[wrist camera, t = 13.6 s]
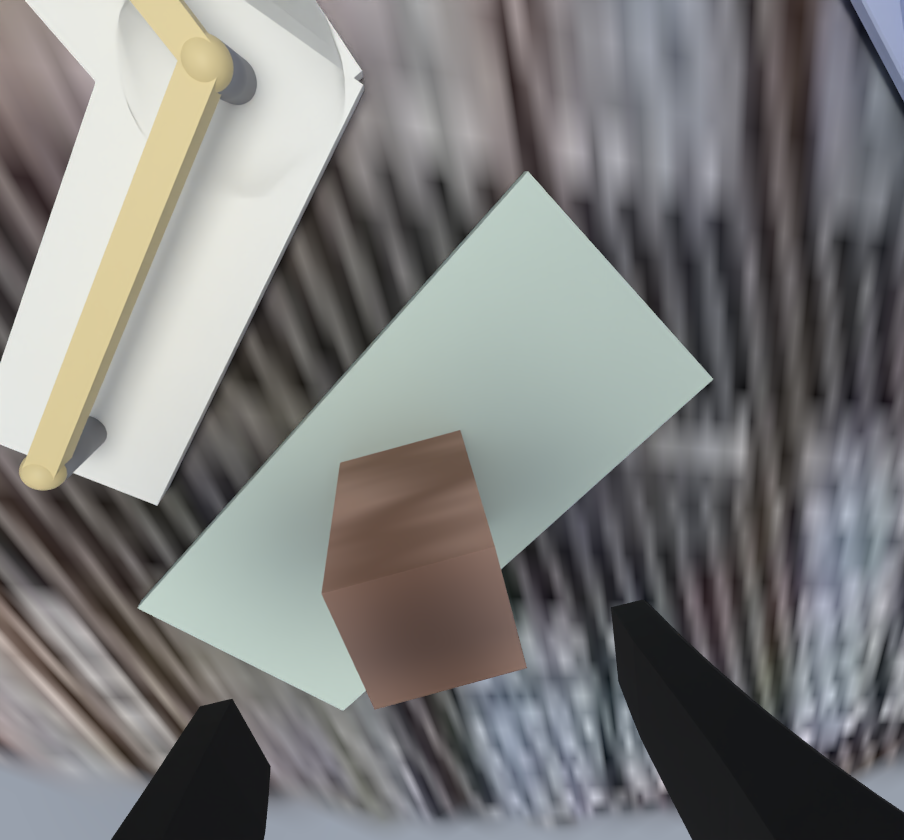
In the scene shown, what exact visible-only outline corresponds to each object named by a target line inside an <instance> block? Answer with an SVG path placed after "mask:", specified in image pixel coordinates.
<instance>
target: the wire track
mask: <svg viewBox="0 0 904 840" xmlns="http://www.w3.org/2000/svg"><path fill="white" fill-rule="evenodd" d="M25 1H26V2H27V3H28V5H29V6H30V7H31V8H32V9H33V10H34V11H35V13H36V14H37V15H38V16H39V17H40V18H41V19H42V21H43V22H44V23H45V24H46V25H47V26H48V28H49V29H50V30H51V31H52V32H53V33H54V34H55V36H56V37H57V38H58V39H59V40H60V41H61V42H62V44H63V45H64V46H65V47H66V48H67V49H68V51H69V52H70V53H71V54H72V55H73V56H74V57H75V59H76V60H77V61H78V62H79V63H80V64H81V65H82V67H83V68H84V69H85V70H86V71H87V72H88V74H89V75H90V76H91V77H92V78H93V79H94V80H95V82H96V83H95V86H94V89H93V92H92V95H91V98H90V101H89V104H88V107H87V110H86V113H85V116H84V118H83V121H82V124H81V127H80V130H79V133H78V136H77V139H76V142H75V145H74V148H73V151H72V154H71V157H70V160H69V163H68V166H67V169H66V171H65V174H64V177H63V180H62V183H61V186H60V189H59V192H58V195H57V198H56V201H55V204H54V207H53V210H52V213H51V216H50V219H49V222H48V224H47V227H46V230H45V233H44V236H43V239H42V242H41V245H40V248H39V251H38V254H37V257H36V260H35V263H34V266H33V269H32V272H31V275H30V277H29V280H28V283H27V286H26V289H25V292H24V295H23V298H22V301H21V304H20V307H19V310H18V313H17V316H16V319H15V322H14V325H13V328H12V330H11V333H10V336H9V339H8V342H7V345H6V348H5V351H4V354H3V357H2V360H1V363H0V445H3V446H6V447H8V448H11V449H13V450H16V451H18V452H21V453H24V454H26V455H27V457H26V458H25V459H24V460H23V461H22V463H21V465H20V468H19V474H20V477H21V479H22V481H23V482H24V483H25V484H26V485H27V486H29V487H31V488H33V489H36V490H50V489H53V488H56V487H58V486H59V485H61V484H62V483H63V482H64V481H65V480H66V479H67V478H68V477H69V476H70V475H71V474H72V473H75V474H78V475H80V476H83V477H85V478H88V479H90V480H93V481H95V482H98V483H101V484H103V485H106V486H108V487H111V488H113V489H116V490H119V491H121V492H124V493H126V494H129V495H131V496H134V497H137V498H139V499H142V500H144V501H147V502H149V503H152V504H155V505H158V503H159V502H160V500H161V499H162V497H163V496H164V494H165V493H166V491H167V490H168V488H169V486H170V484H171V482H172V480H173V478H174V476H175V474H176V472H177V470H178V468H179V466H180V464H181V462H182V460H183V458H184V456H185V454H186V452H187V450H188V448H189V446H190V444H191V442H192V440H193V438H194V436H195V434H196V432H197V429H198V427H199V425H200V423H201V421H202V419H203V417H204V415H205V413H206V411H207V409H208V407H209V405H210V403H211V401H212V399H213V397H214V395H215V393H216V391H217V389H218V387H219V385H220V383H221V381H222V379H223V377H224V375H225V373H226V370H227V368H228V366H229V364H230V362H231V360H232V358H233V356H234V354H235V352H236V350H237V348H238V346H239V344H240V342H241V340H242V338H243V336H244V334H245V332H246V330H247V328H248V326H249V324H250V322H251V320H252V318H253V316H254V314H255V311H256V309H257V307H258V305H259V303H260V301H261V299H262V297H263V295H264V293H265V291H266V289H267V287H268V285H269V283H270V281H271V279H272V277H273V275H274V273H275V271H276V269H277V267H278V265H279V263H280V261H281V259H282V257H283V255H284V252H285V250H286V248H287V246H288V244H289V242H290V240H291V238H292V236H293V234H294V232H295V230H296V228H297V226H298V224H299V222H300V220H301V218H302V216H303V214H304V212H305V210H306V208H307V206H308V204H309V202H310V200H311V198H312V195H313V193H314V191H315V189H316V187H317V185H318V183H319V181H320V179H321V177H322V175H323V173H324V171H325V169H326V167H327V165H328V163H329V161H330V159H331V157H332V155H333V153H334V151H335V149H336V147H337V145H338V143H339V141H340V139H341V136H342V134H343V132H344V130H345V128H346V126H347V124H348V122H349V120H350V118H351V116H352V114H353V112H354V110H355V108H356V106H357V104H358V102H359V100H360V98H361V96H362V94H363V92H364V86H363V84H362V83H360V82H359V80H361V79H362V78H363V73H362V70H361V69H360V67H359V66H358V64H357V63H356V61H355V60H354V58H353V57H352V55H351V53H350V52H349V50H348V49H347V47H346V46H345V44H344V43H343V41H342V40H341V38H340V37H339V35H338V34H337V32H336V31H335V29H334V28H333V26H332V25H331V23H330V22H329V20H328V19H327V17H326V16H325V14H324V13H323V11H322V10H321V8H320V7H319V5H318V4H317V2H316V1H315V0H25Z"/></svg>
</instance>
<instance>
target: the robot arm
mask: <svg viewBox="0 0 904 840" xmlns="http://www.w3.org/2000/svg"><path fill="white" fill-rule="evenodd" d="M850 1H851V3H852V5H853V6H854V8H855V10H856V12H857V14H858V16H859V18H860V20H861V22H862V23H863V25H864V27H865V29H866V31H867V33H868V35H869V37H870V39H871V41H872V42H873V44H874V46H875V48H876V50H877V52H878V54H879V56H880V58H881V59H882V61H883V63H884V65H885V67H886V69H887V71H888V73H889V75H890V76H891V78H892V80H893V82H894V84H895V86H896V88H897V90H898V92H899V93H900V95H901V97H902V99H903V101H904V0H850ZM611 612H612V622H613V632H614V642H615V651H616V661H617V671H618V681H619V684H620V687H621V689H622V692H623V695H624V697H625V700H626V702H627V705H628V707H629V710H630V713H631V715H632V718H633V720H634V723H635V725H636V728H637V730H638V733H639V735H640V738H641V740H642V742H643V744H644V746H645V748H646V750H647V752H648V754H649V756H650V758H651V760H652V762H653V764H654V766H655V768H656V770H657V772H658V773H659V775H660V777H661V779H662V781H663V783H664V785H665V787H666V789H667V791H668V793H669V795H670V797H671V799H672V801H673V803H674V805H675V807H676V809H677V811H678V813H679V815H680V817H681V819H682V821H683V822H684V824H685V826H686V828H687V830H688V832H689V834H690V836H691V838H692V840H904V812H902V811H901V810H899V809H898V808H896V807H895V806H893V805H892V804H891V803H889V802H888V801H886V800H885V799H883V798H882V797H880V796H879V795H877V794H876V793H874V792H873V791H872V790H870V789H869V788H867V787H866V786H865V785H863V784H862V783H860V782H859V781H858V780H856V779H855V778H853V777H852V776H851V775H849V774H848V773H846V772H845V771H844V770H842V769H841V768H839V767H838V766H837V765H835V764H834V763H833V762H831V761H830V760H829V759H827V758H826V757H825V756H823V755H822V754H821V753H819V752H818V751H817V750H815V749H814V748H813V747H811V746H810V745H809V744H807V743H806V742H805V741H803V740H802V739H801V738H800V737H798V736H797V735H796V734H795V733H793V732H792V731H791V730H790V729H788V728H787V727H786V726H784V725H783V724H782V723H781V722H779V721H778V720H777V719H776V718H774V717H773V716H772V715H771V714H769V713H768V712H767V711H766V710H765V709H763V708H762V707H761V706H760V705H759V704H757V703H756V702H755V701H754V700H753V699H751V698H750V697H749V696H748V695H747V694H746V693H744V692H743V691H742V690H741V689H740V688H739V687H737V686H736V685H735V684H734V683H733V682H732V681H731V680H729V679H728V678H727V677H726V676H725V675H724V674H722V673H721V672H720V671H719V670H718V669H717V668H716V667H715V666H713V665H712V664H711V663H710V662H709V661H708V660H707V659H706V658H705V657H703V656H702V655H701V654H700V653H699V652H698V651H697V650H696V649H695V648H694V647H693V646H692V645H691V644H690V643H688V642H687V641H686V640H685V639H684V638H683V637H682V636H681V635H680V634H679V633H678V632H677V631H676V630H675V629H674V628H673V627H672V626H671V625H670V624H669V623H668V622H667V621H666V620H665V619H664V618H663V617H662V616H661V615H660V614H659V613H658V612H657V611H656V610H655V609H654V608H653V607H652V606H651V605H650V604H649V603H648V602H646V601H644V600H640V601H635V602H631V603H627V604H623V605H619V606H615V607H611ZM270 767H271V766H270V765H269V763H268V761H267V759H266V758H265V756H264V754H263V752H262V750H261V749H260V747H259V745H258V743H257V742H256V740H255V738H254V736H253V735H252V733H251V731H250V729H249V727H248V726H247V724H246V722H245V720H244V719H243V717H242V715H241V713H240V711H239V710H238V708H237V706H236V704H235V703H234V701H233V699H229V700H225V701H221V702H217V703H213V704H208V705H204V706H200V707H199V709H198V710H197V712H196V713H195V715H194V716H193V718H192V719H191V721H190V722H189V724H188V725H187V727H186V728H185V730H184V731H183V733H182V734H181V736H180V737H179V739H178V740H177V742H176V743H175V745H174V746H173V748H172V749H171V751H170V752H169V754H168V755H167V757H166V758H165V760H164V762H163V763H162V765H161V766H160V768H159V769H158V771H157V772H156V774H155V775H154V777H153V778H152V780H151V781H150V783H149V784H148V786H147V787H146V789H145V790H144V792H143V793H142V795H141V796H140V798H139V799H138V801H137V802H136V804H135V805H134V807H133V808H132V810H131V811H130V813H129V814H128V816H127V817H126V819H125V820H124V822H123V823H122V824H121V826H120V827H119V829H118V830H117V832H116V833H115V835H114V836H113V838H112V839H111V840H264V835H265V829H266V819H267V808H268V796H269V782H270Z"/></svg>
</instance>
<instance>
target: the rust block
mask: <svg viewBox="0 0 904 840" xmlns="http://www.w3.org/2000/svg"><path fill="white" fill-rule="evenodd" d="M321 594H322V596H323V598H324V601H325V603H326V605H327V607H328V609H329V611H330V614H331V616H332V618H333V620H334V622H335V624H336V627H337V629H338V631H339V633H340V635H341V637H342V640H343V642H344V644H345V646H346V648H347V650H348V653H349V655H350V657H351V659H352V661H353V663H354V666H355V668H356V670H357V672H358V674H359V676H360V679H361V681H362V683H363V685H364V687H365V689H366V692H367V694H368V696H369V698H370V700H371V702H372V705H373V707H374V709H378V708H382V707H386V706H389V705H393V704H397V703H400V702H404V701H408V700H411V699H415V698H419V697H422V696H426V695H430V694H433V693H437V692H441V691H444V690H448V689H452V688H455V687H459V686H463V685H466V684H470V683H474V682H477V681H481V680H485V679H488V678H492V677H496V676H499V675H503V674H507V673H510V672H514V671H518V670H521V669H525V668H527V667H526V663H525V659H524V655H523V652H522V648H521V644H520V640H519V636H518V633H517V629H516V625H515V621H514V617H513V614H512V610H511V606H510V602H509V598H508V594H507V591H506V587H505V583H504V579H503V575H502V572H501V568H500V564H499V560H498V556H497V553H496V549H495V545H494V542H493V538H492V535H491V532H490V528H489V525H488V522H487V518H486V515H485V511H484V508H483V505H482V501H481V498H480V495H479V491H478V488H477V485H476V481H475V478H474V474H473V471H472V468H471V464H470V461H469V458H468V454H467V451H466V448H465V444H464V441H463V437H462V434H461V431H460V430H458V431H455V432H451V433H447V434H444V435H440V436H436V437H433V438H429V439H425V440H422V441H418V442H414V443H411V444H407V445H403V446H400V447H396V448H392V449H389V450H385V451H381V452H378V453H374V454H370V455H367V456H363V457H359V458H356V459H352V460H348V461H344V462H341V463H340V467H339V474H338V481H337V488H336V495H335V502H334V509H333V516H332V523H331V530H330V537H329V544H328V551H327V558H326V565H325V572H324V579H323V586H322V593H321Z"/></svg>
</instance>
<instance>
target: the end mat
mask: <svg viewBox="0 0 904 840" xmlns="http://www.w3.org/2000/svg"><path fill="white" fill-rule="evenodd" d="M712 380H713V378H712V377H711V376H710V375H709V374H708V373H707V372H706V370H705V369H704V368H703V367H702V366H701V365H700V364H699V363H698V362H697V360H696V359H695V358H694V357H693V356H692V355H691V354H690V353H689V351H688V350H687V349H686V348H685V347H684V346H683V345H682V344H681V342H680V341H679V340H678V339H677V338H676V337H675V336H674V335H673V333H672V332H671V331H670V330H669V329H668V328H667V327H666V326H665V325H664V323H663V322H662V321H661V320H660V319H659V318H658V317H657V316H656V314H655V313H654V312H653V311H652V310H651V309H650V308H649V307H648V305H647V304H646V303H645V302H644V301H643V300H642V299H641V298H640V296H639V295H638V294H637V293H636V292H635V291H634V290H633V289H632V287H631V286H630V285H629V284H628V283H627V282H626V281H625V280H624V279H623V277H622V276H621V275H620V274H619V273H618V272H617V271H616V270H615V268H614V267H613V266H612V265H611V264H610V263H609V262H608V261H607V259H606V258H605V257H604V256H603V255H602V254H601V253H600V252H599V250H598V249H597V248H596V247H595V246H594V245H593V244H592V243H591V242H590V240H589V239H588V238H587V237H586V236H585V235H584V234H583V233H582V231H581V230H580V229H579V228H578V227H577V226H576V225H575V224H574V222H573V221H572V220H571V219H570V218H569V217H568V216H567V215H566V213H565V212H564V211H563V210H562V209H561V208H560V207H559V206H558V205H557V203H556V202H555V201H554V200H553V199H552V198H551V197H550V196H549V194H548V193H547V192H546V191H545V190H544V189H543V188H542V187H541V185H540V184H539V183H538V182H537V181H536V180H535V179H534V178H533V176H532V175H531V174H530V173H529V172H528V171H524V173H523V174H522V175H521V176H520V177H519V178H518V179H517V180H516V181H515V183H514V184H513V185H512V186H511V187H510V188H509V189H508V190H507V192H506V193H505V194H504V195H503V196H502V197H501V198H500V199H499V201H498V202H497V203H496V204H495V205H494V206H493V207H492V208H491V209H490V211H489V212H488V213H487V214H486V215H485V216H484V217H483V218H482V220H481V221H480V222H479V223H478V224H477V225H476V226H475V227H474V229H473V230H472V231H471V232H470V233H469V234H468V235H467V236H466V238H465V239H464V240H463V241H462V242H461V243H460V244H459V245H458V246H457V248H456V249H455V250H454V251H453V252H452V253H451V254H450V255H449V257H448V258H447V259H446V260H445V261H444V262H443V263H442V264H441V266H440V267H439V268H438V269H437V270H436V271H435V272H434V273H433V274H432V276H431V277H430V278H429V279H428V280H427V281H426V282H425V283H424V285H423V286H422V287H421V288H420V289H419V290H418V291H417V292H416V294H415V295H414V296H413V297H412V298H411V299H410V300H409V301H408V302H407V304H406V305H405V306H404V307H403V308H402V309H401V310H400V311H399V313H398V314H397V315H396V316H395V317H394V318H393V319H392V320H391V322H390V323H389V324H388V325H387V326H386V327H385V328H384V329H383V331H382V332H381V333H380V334H379V335H378V336H377V337H376V338H375V339H374V341H373V342H372V343H371V344H370V345H369V346H368V347H367V348H366V350H365V351H364V352H363V353H362V354H361V355H360V356H359V357H358V359H357V360H356V361H355V362H354V363H353V364H352V365H351V366H350V367H349V369H348V370H347V371H346V372H345V373H344V374H343V375H342V376H341V378H340V379H339V380H338V381H337V382H336V383H335V384H334V385H333V387H332V388H331V389H330V390H329V391H328V392H327V393H326V394H325V395H324V397H323V398H322V399H321V400H320V401H319V402H318V403H317V404H316V406H315V407H314V408H313V409H312V410H311V411H310V412H309V413H308V415H307V416H306V417H305V418H304V419H303V420H302V421H301V422H300V423H299V425H298V426H297V427H296V428H295V429H294V430H293V431H292V432H291V434H290V435H289V436H288V437H287V438H286V439H285V440H284V441H283V443H282V444H281V445H280V446H279V447H278V448H277V449H276V450H275V452H274V453H273V454H272V455H271V456H270V457H269V458H268V459H267V460H266V462H265V463H264V464H263V465H262V466H261V467H260V468H259V469H258V471H257V472H256V473H255V474H254V475H253V476H252V477H251V478H250V480H249V481H248V482H247V483H246V484H245V485H244V486H243V487H242V488H241V490H240V491H239V492H238V493H237V494H236V495H235V496H234V497H233V499H232V500H231V501H230V502H229V503H228V504H227V505H226V506H225V508H224V509H223V510H222V511H221V512H220V513H219V514H218V515H217V516H216V518H215V519H214V520H213V521H212V522H211V523H210V524H209V525H208V527H207V528H206V529H205V530H204V531H203V532H202V533H201V534H200V536H199V537H198V538H197V539H196V540H195V541H194V542H193V543H192V545H191V546H190V547H189V548H188V549H187V550H186V551H185V552H184V553H183V555H182V556H181V557H180V558H179V559H178V560H177V561H176V562H175V564H174V565H173V566H172V567H171V568H170V569H169V570H168V571H167V573H166V574H165V575H164V576H163V577H162V578H161V579H160V580H159V581H158V583H157V584H156V585H155V586H154V587H153V588H152V589H151V590H150V592H149V593H148V594H147V595H146V596H145V597H144V598H143V599H142V601H141V603H140V604H139V606H138V609H140V610H142V611H144V612H146V613H148V614H150V615H152V616H154V617H156V618H158V619H160V620H162V621H164V622H166V623H168V624H170V625H172V626H174V627H176V628H178V629H180V630H182V631H184V632H186V633H188V634H190V635H192V636H194V637H196V638H198V639H200V640H202V641H204V642H206V643H208V644H210V645H212V646H214V647H216V648H218V649H220V650H222V651H224V652H226V653H228V654H230V655H232V656H234V657H236V658H238V659H240V660H242V661H244V662H246V663H248V664H250V665H252V666H254V667H256V668H258V669H260V670H262V671H264V672H266V673H268V674H270V675H272V676H274V677H276V678H278V679H280V680H282V681H284V682H286V683H288V684H290V685H292V686H295V687H297V688H299V689H301V690H303V691H305V692H307V693H309V694H311V695H313V696H315V697H317V698H319V699H321V700H323V701H325V702H327V703H329V704H331V705H333V706H335V707H337V708H339V709H341V710H345V709H346V708H347V707H348V706H349V705H350V704H351V703H352V702H353V701H355V700H356V699H357V698H358V697H359V696H360V695H361V694H362V693H364V692H365V691H366V689H365V687H364V685H363V683H362V681H361V679H360V676H359V674H358V672H357V670H356V668H355V666H354V663H353V661H352V659H351V657H350V655H349V653H348V650H347V648H346V646H345V644H344V642H343V640H342V637H341V635H340V633H339V631H338V629H337V627H336V624H335V622H334V620H333V618H332V616H331V614H330V611H329V609H328V607H327V605H326V603H325V601H324V598H323V596H322V594H321V593H322V586H323V579H324V572H325V565H326V558H327V551H328V544H329V537H330V530H331V523H332V516H333V509H334V502H335V495H336V488H337V481H338V474H339V467H340V463H341V462H344V461H348V460H352V459H356V458H359V457H363V456H367V455H370V454H374V453H378V452H381V451H385V450H389V449H392V448H396V447H400V446H403V445H407V444H411V443H414V442H418V441H422V440H425V439H429V438H433V437H436V436H440V435H444V434H447V433H451V432H455V431H458V430H460V431H461V434H462V437H463V441H464V444H465V448H466V451H467V454H468V458H469V461H470V464H471V468H472V471H473V474H474V478H475V481H476V485H477V488H478V491H479V495H480V498H481V501H482V505H483V508H484V511H485V515H486V518H487V522H488V525H489V528H490V532H491V535H492V538H493V542H494V545H495V549H496V553H497V556H498V560H499V564H500V568H501V569H502V568H503V567H504V566H505V565H506V564H507V563H509V562H510V561H511V560H512V559H513V558H514V557H515V556H516V555H518V554H519V553H520V552H521V551H522V550H523V549H524V548H525V547H526V546H528V545H529V544H530V543H531V542H532V541H533V540H534V539H535V538H536V537H538V536H539V535H540V534H541V533H542V532H543V531H544V530H545V529H547V528H548V527H549V526H550V525H551V524H552V523H553V522H554V521H555V520H557V519H558V518H559V517H560V516H561V515H562V514H563V513H564V512H566V511H567V510H568V509H569V508H570V507H571V506H572V505H573V504H574V503H576V502H577V501H578V500H579V499H580V498H581V497H582V496H583V495H584V494H586V493H587V492H588V491H589V490H590V489H591V488H592V487H593V486H595V485H596V484H597V483H598V482H599V481H600V480H601V479H602V478H603V477H605V476H606V475H607V474H608V473H609V472H610V471H611V470H612V469H613V468H615V467H616V466H617V465H618V464H619V463H620V462H621V461H622V460H624V459H625V458H626V457H627V456H628V455H629V454H630V453H631V452H632V451H634V450H635V449H636V448H637V447H638V446H639V445H640V444H641V443H643V442H644V441H645V440H646V439H647V438H648V437H649V436H650V435H651V434H653V433H654V432H655V431H656V430H657V429H658V428H659V427H660V426H661V425H663V424H664V423H665V422H666V421H667V420H668V419H669V418H670V417H672V416H673V415H674V414H675V413H676V412H677V411H678V410H679V409H680V408H682V407H683V406H684V405H685V404H686V403H687V402H688V401H689V400H690V399H692V398H693V397H694V396H695V395H696V394H697V393H698V392H699V391H701V390H702V389H703V388H704V387H705V386H706V385H707V384H708V383H709V382H711V381H712Z"/></svg>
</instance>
